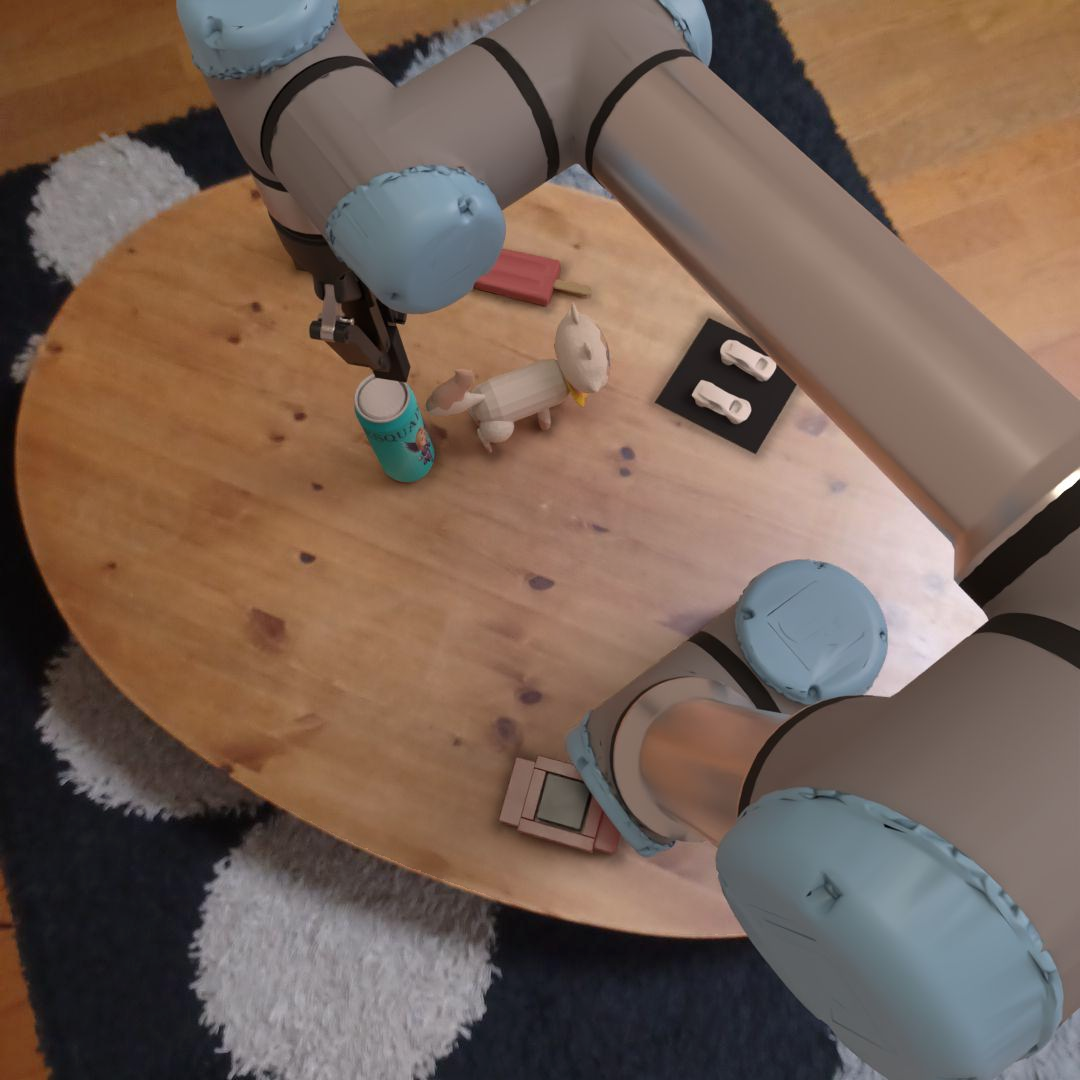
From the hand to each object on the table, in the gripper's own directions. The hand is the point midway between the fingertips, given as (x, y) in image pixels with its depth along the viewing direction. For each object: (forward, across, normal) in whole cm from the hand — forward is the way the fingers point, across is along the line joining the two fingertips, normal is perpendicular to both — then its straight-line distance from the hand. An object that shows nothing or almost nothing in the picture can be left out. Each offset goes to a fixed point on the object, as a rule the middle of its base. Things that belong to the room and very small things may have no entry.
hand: (392, 372), depth 84 cm
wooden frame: (+22, +30, +20) cm, 43 cm away
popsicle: (+24, -25, +5) cm, 35 cm away
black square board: (+23, -16, +29) cm, 41 cm away
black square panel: (+19, +30, +20) cm, 41 cm away
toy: (+23, -8, +8) cm, 26 cm away
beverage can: (+23, -1, -3) cm, 23 cm away
